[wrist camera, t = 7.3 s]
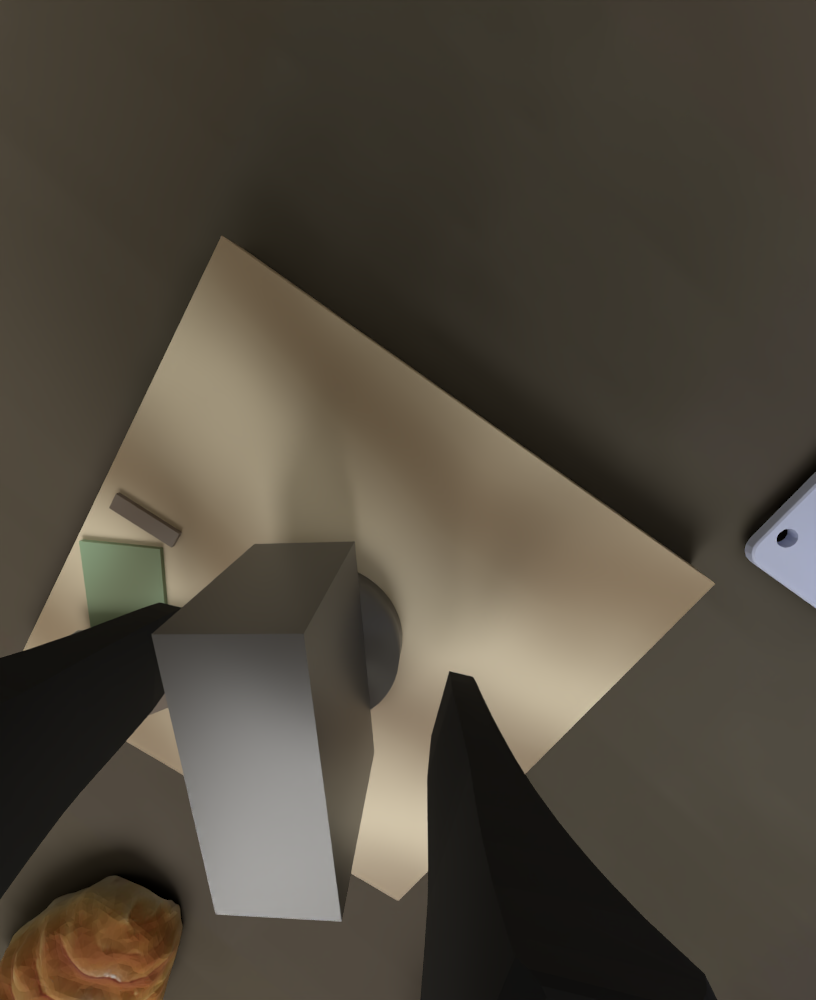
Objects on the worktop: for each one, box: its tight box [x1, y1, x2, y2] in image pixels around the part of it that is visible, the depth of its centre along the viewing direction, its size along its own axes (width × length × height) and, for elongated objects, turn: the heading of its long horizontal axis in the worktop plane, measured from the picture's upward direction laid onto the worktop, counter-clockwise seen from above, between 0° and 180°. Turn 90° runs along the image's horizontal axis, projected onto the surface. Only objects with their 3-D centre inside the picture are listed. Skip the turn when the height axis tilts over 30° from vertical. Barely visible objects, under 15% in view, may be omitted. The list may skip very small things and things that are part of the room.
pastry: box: [0, 876, 183, 1000], centre depth 18 cm, size 9×7×4 cm
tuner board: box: [23, 236, 715, 901], centre depth 14 cm, size 15×15×1 cm
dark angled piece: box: [71, 541, 402, 921], centre depth 11 cm, size 10×6×5 cm, turn 93°
